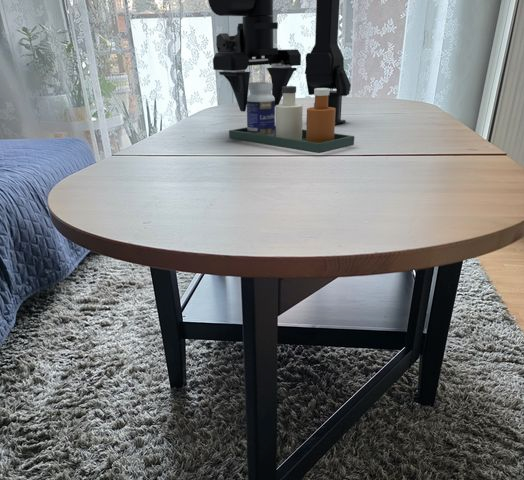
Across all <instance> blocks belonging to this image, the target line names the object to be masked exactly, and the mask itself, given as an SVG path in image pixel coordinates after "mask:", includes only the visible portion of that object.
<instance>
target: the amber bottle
mask: <svg viewBox="0 0 524 480" xmlns="http://www.w3.org/2000/svg"><path fill="white" fill-rule="evenodd" d="M329 90H330V89H329V88H316V89H314V95H313V96H314V103H315V107H314V106H311V107H308V108H306V125H305V126H306V129H305V130H306V141H308V142H315V143H322V142H326V141H331V140H334V133H335V130H336V129H335V127H336V124H335V111H336V109H335V108H333V107H328V95H329Z"/></svg>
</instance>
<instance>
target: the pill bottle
mask: <svg viewBox="0 0 524 480" xmlns="http://www.w3.org/2000/svg"><path fill="white" fill-rule="evenodd" d="M248 91H249V94H248V97H247V105H246V127H247V132H248V133H254V134H261V135H268V136H274V135H275V126H276V116H275V98H274V96H273V95H272V82H266V81H255V82H254V81H253V82H249V88H248Z"/></svg>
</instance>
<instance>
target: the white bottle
mask: <svg viewBox="0 0 524 480" xmlns="http://www.w3.org/2000/svg"><path fill="white" fill-rule="evenodd" d="M282 93H283V96H282V104H281V103H279V105H276V106H275V126H276V137H281V138H288V139H295V140H302V129H303V108H304V107H303V104H300V103H296V93H297V86H295V85H287V86H284V87H282Z"/></svg>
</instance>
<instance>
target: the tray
mask: <svg viewBox="0 0 524 480" xmlns="http://www.w3.org/2000/svg"><path fill="white" fill-rule="evenodd" d="M228 138H229V139H230V140H231V139H232V140H237V141H243V142H247V143H248V142H249V143H256V144H262V145H267V146H273V147H280V148H285V149H292V150H298V151H303V152H309V153H316V154H321V153H325V152H330V151H334V150H339V149H342V148H346V147H350V146H354V145H355V135H350V134H344V133H343V134H342V133H336V132H334V140H331V141H326V142H322V143H315V142H308V141H306V129H303V128H302V140H295V139H288V138H281V137H276V125H275V135H274V136H268V135H261V134H254V133H248V132H247V126H246V127H240V128H235V129H229V130H228Z"/></svg>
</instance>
